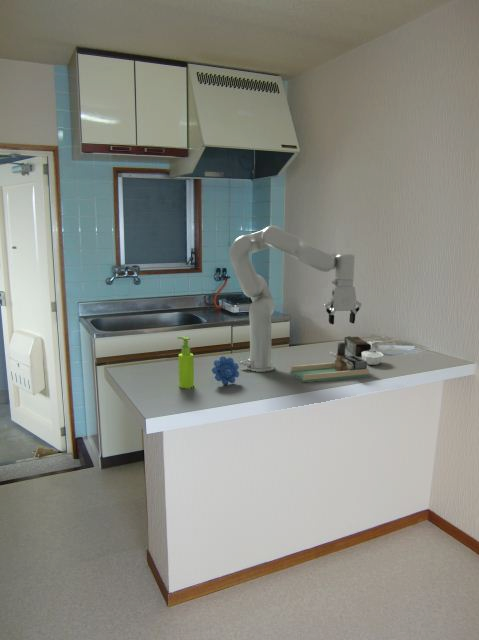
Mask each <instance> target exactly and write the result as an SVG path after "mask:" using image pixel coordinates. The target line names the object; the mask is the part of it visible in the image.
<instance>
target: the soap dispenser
mask: <svg viewBox="0 0 479 640" xmlns="http://www.w3.org/2000/svg"><path fill="white" fill-rule="evenodd" d="M176 339H177V340H183V344H182V345H181V353H178V387H179V388H180V387H181V389H191V387H192V388H193V386H195V381H194V380H195V379H194V378H195V376H194V372H195V370H194V369H195V368H194V362H195V361H194V354H193V353H191V345H190V344H189V341H190V339H191V338H190V337H188V336H178V337H176Z"/></svg>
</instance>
